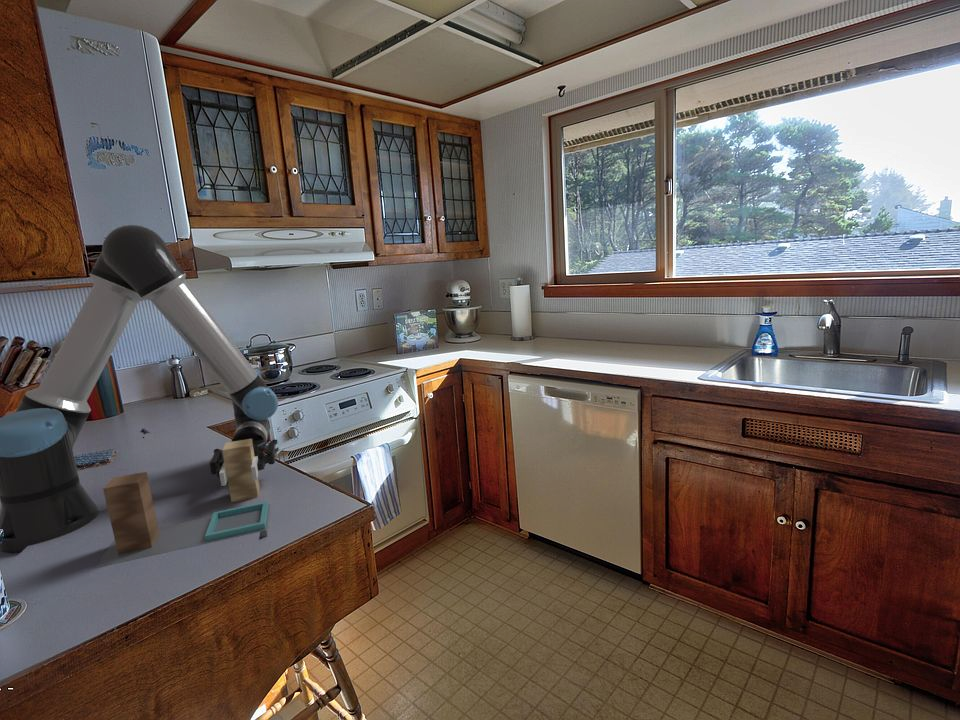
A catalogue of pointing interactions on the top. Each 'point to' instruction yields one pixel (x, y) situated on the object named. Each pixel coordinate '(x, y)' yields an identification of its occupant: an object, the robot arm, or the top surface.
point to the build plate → (199, 532)
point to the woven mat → (94, 459)
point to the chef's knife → (145, 431)
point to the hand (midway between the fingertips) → (238, 476)
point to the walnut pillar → (131, 512)
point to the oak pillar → (240, 470)
